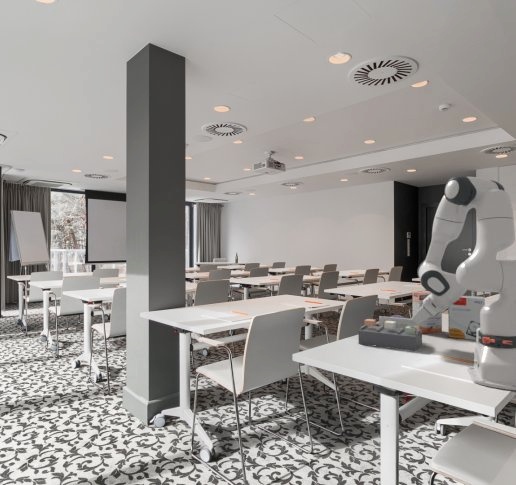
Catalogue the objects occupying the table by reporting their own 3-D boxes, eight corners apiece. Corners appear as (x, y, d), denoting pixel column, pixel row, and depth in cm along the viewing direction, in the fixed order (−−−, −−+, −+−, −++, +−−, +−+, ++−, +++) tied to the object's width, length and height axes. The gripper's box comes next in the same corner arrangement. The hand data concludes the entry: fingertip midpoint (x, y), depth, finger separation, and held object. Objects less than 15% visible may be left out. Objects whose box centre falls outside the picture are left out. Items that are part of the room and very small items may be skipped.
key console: (416, 351, 161) (415, 327, 161) (358, 343, 174) (358, 321, 174) (424, 341, 177) (424, 320, 177) (371, 335, 191) (370, 315, 191)
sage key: (415, 334, 166) (414, 328, 166) (405, 333, 168) (405, 327, 168) (416, 332, 169) (416, 326, 170) (407, 331, 172) (407, 325, 172)
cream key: (393, 328, 171) (393, 323, 171) (384, 327, 173) (384, 322, 173) (395, 327, 174) (395, 321, 174) (386, 326, 176) (386, 320, 177)
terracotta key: (373, 326, 175) (373, 321, 175) (364, 325, 178) (364, 320, 178) (375, 325, 179) (375, 319, 179) (367, 324, 181) (367, 318, 181)
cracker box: (419, 334, 194) (419, 292, 194) (412, 331, 199) (411, 291, 200) (443, 332, 197) (442, 291, 198) (434, 329, 203) (434, 290, 203)
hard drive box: (448, 337, 185) (447, 296, 186) (448, 334, 192) (448, 294, 193) (485, 341, 178) (484, 298, 179) (484, 337, 185) (483, 296, 185)
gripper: (431, 296, 174) (409, 316, 179) (424, 302, 157) (399, 324, 162) (442, 307, 172) (419, 327, 177) (436, 314, 154) (410, 336, 159)
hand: (409, 325), depth 169 cm, fingers closed, pressing on sage key
